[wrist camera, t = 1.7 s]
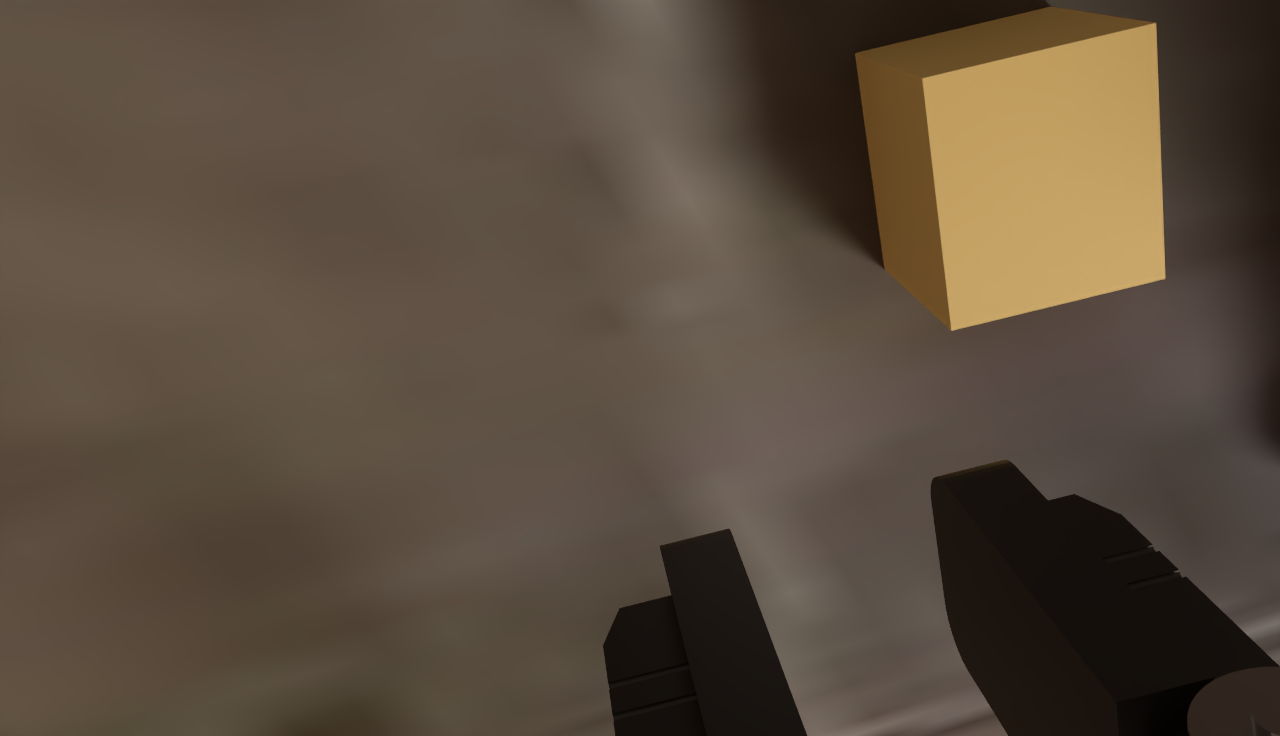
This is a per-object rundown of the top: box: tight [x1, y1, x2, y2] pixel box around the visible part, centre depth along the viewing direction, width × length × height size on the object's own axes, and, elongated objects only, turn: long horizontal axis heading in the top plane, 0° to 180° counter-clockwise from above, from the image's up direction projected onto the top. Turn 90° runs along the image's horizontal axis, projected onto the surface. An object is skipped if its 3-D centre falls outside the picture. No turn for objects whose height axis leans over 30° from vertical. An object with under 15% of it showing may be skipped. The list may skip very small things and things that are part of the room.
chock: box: [855, 7, 1165, 331], centre depth 23 cm, size 5×4×4 cm
